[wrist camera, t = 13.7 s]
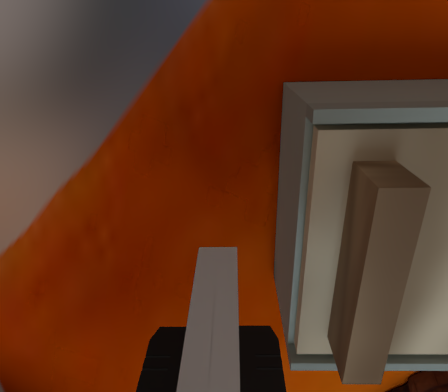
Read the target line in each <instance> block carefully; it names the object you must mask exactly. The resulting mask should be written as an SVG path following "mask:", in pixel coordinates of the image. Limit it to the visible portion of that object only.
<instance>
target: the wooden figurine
mask: <svg viewBox="0 0 448 392" xmlns="http://www.w3.org/2000/svg"><path fill="white" fill-rule="evenodd" d="M391 392H448V371H425V372H420V373H417V374H415V375H413V376H411V377H409V379H408V383H407V384H406V385H404V386H402V387H398V388H395V389H393V390H392V391H391Z"/></svg>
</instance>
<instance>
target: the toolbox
mask: <svg viewBox="0 0 448 392" xmlns="http://www.w3.org/2000/svg"><path fill="white" fill-rule="evenodd" d="M408 123H448V79H426V80H374V81H322V82H283V102H282V122H281V142H280V161H279V181H278V201H277V221H276V241H275V261H274V279H275V285H276V291H277V296H278V302H279V308H280V313H281V319H282V325H283V330H284V336H285V342H286V347H287V353H288V359H289V364H290V370H332V371H338V369H337V366H336V363H335V360H334V357H333V354H296V349H295V344H294V335H295V324H296V313H297V302H298V291H299V280H300V269H301V258H302V247H303V236H304V225H305V214H306V203H307V192H308V181H309V170H310V159H311V148H312V137H313V126H314V125H345V124H408ZM384 371H448V354H388V358H387V362H386V366H385V370H384Z"/></svg>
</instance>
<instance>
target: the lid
mask: <svg viewBox="0 0 448 392" xmlns="http://www.w3.org/2000/svg"><path fill="white" fill-rule="evenodd" d="M294 344H295V349H296V354H333V357H334V360H335V363H336V366H337V369H338V372H339V375H340V379H341V382H342V384H381V381H382V377H383V374H384V370H385V366H386V362H387V358H388V354H448V123H408V124H345V125H314V126H313V137H312V148H311V159H310V170H309V181H308V192H307V203H306V214H305V225H304V236H303V247H302V258H301V269H300V280H299V291H298V302H297V313H296V324H295V335H294Z"/></svg>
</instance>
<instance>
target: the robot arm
mask: <svg viewBox="0 0 448 392" xmlns="http://www.w3.org/2000/svg"><path fill="white" fill-rule="evenodd" d="M136 392H286V387H285V380H284V374H283V367H282V360H281V354H280V347H279V340H278V338H277V336H276V335H275V333H274V332H273V330H272V328H271V327H270V326H239V315H238V268H237V247H199V251H198V257H197V263H196V270H195V276H194V283H193V289H192V295H191V302H190V308H189V314H188V321H187V327H159V329H158V330H157V331H156V333H155V334H154V335H153V336H152V338H151V339H150V341H149V345H148V349H147V353H146V358H145V360H144V364H143V367H142V371H141V375H140V378H139V382H138V386H137V389H136Z"/></svg>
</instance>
